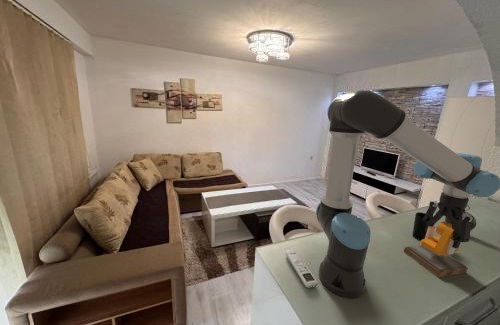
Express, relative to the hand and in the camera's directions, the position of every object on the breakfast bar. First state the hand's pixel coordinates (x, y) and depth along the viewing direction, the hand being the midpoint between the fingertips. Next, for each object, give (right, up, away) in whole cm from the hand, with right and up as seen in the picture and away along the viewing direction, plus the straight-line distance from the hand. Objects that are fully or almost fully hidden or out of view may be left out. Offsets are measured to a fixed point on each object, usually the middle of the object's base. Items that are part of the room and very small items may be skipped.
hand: (438, 246), depth 82 cm
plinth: (0, -7, +2) cm, 7 cm away
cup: (+8, -4, +18) cm, 20 cm away
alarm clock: (+33, -3, +25) cm, 41 cm away
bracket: (0, -1, 0) cm, 1 cm away
